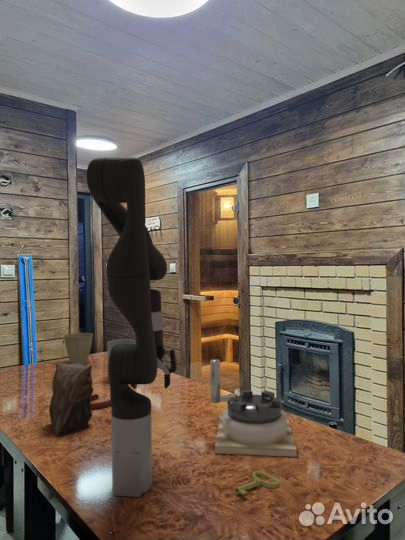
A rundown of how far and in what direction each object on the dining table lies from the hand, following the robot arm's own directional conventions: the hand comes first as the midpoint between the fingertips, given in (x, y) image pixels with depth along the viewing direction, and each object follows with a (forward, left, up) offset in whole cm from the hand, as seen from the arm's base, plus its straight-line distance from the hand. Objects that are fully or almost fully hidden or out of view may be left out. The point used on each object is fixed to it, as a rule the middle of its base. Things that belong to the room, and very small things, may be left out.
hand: (150, 387), depth 107 cm
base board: (+14, -28, -19) cm, 37 cm away
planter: (+70, +31, -19) cm, 79 cm away
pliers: (+35, +34, -19) cm, 53 cm away
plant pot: (+98, +64, -19) cm, 119 cm away
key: (-12, -28, -19) cm, 36 cm away
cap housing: (+14, -28, -17) cm, 36 cm away
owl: (+16, +32, -19) cm, 41 cm away
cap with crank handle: (+14, -26, -11) cm, 32 cm away
